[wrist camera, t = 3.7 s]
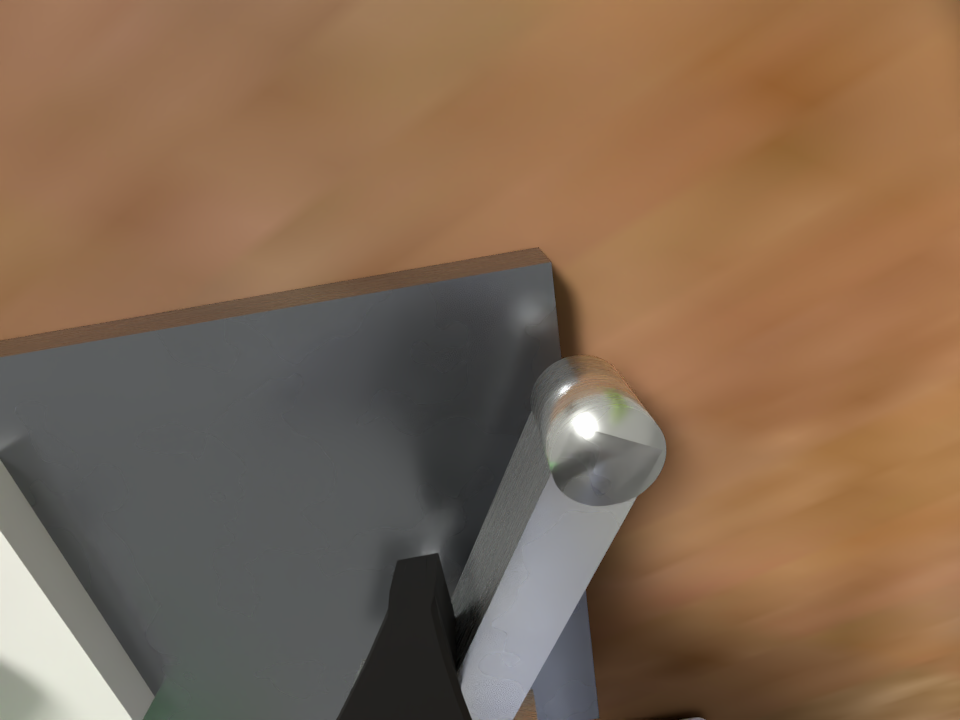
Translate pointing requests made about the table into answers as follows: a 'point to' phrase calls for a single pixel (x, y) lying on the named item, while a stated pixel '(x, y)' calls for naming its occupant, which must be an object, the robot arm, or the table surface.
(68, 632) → the cover
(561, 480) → the t key
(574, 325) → the table surface
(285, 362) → the panel
